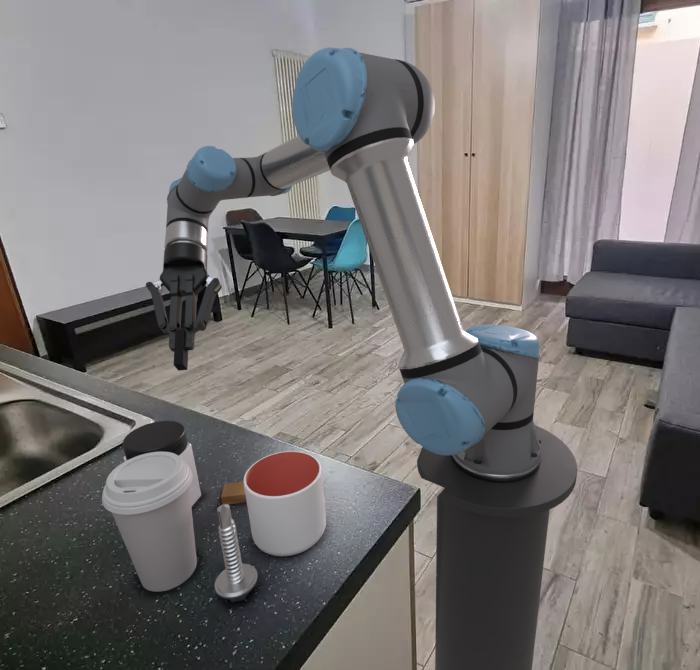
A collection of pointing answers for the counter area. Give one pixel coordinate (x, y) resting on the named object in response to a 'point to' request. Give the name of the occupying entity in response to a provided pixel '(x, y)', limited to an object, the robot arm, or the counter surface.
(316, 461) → the cup
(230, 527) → the screw
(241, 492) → the brown wooden bar
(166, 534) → the coffee cup
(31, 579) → the counter surface
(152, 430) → the jar
